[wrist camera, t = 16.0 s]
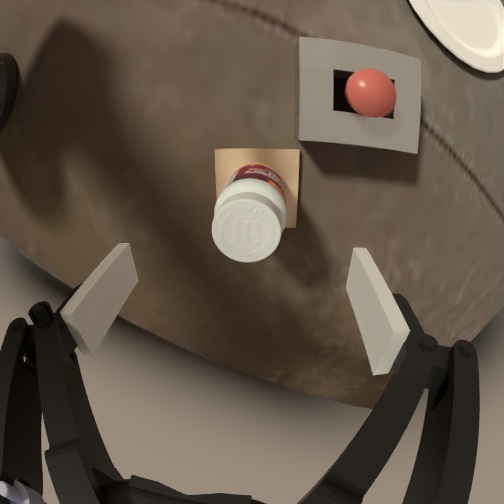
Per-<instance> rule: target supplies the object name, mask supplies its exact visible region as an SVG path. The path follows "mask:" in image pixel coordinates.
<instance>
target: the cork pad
mask: <svg viewBox="0 0 504 504" xmlns="http://www.w3.org/2000/svg"><path fill="white" fill-rule="evenodd" d="M299 152H300V150H298V149H265V148H236V149H215V170H216V190H217V199H218V197H219V195H220V194H221V192H222V191H223V189H224V187H225V186H226V184H227V183H228V181H229V179H230V178H231V176H232V175H233V174H234V173H235V172H236V171H237V170H238V169H239V168H241V167H242V166H244V165H247V164H251V163H261V164H265V165H267V166H269V167H271V168H273V169H274V170H275V171H276V172H277V173H278V174H279V175H280V177H281V179H282V181H283V184H284V188H285V197H286V207H287V221H286V225H285V228H296V218H297V200H298V179H299Z"/></svg>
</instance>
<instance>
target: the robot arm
mask: <svg viewBox="0 0 504 504" xmlns="http://www.w3.org/2000/svg"><path fill="white" fill-rule="evenodd" d="M16 85H17V69H16V64H15V61H14V58H13V57H12V56H11V55H10V54H8V53H0V130H1V129H2V128H3V126H4V125H5V123H6V121H7V119H8V117H9V115H10V112H11V109H12V106H13V102H14V98H15V93H16ZM137 282H138V277H137V273H136V269H135V265H134V261H133V257H132V253H131V249H130V244H129V243H119V244H118V245H117V246H116V247H115V248H114V249H113V250H112V251H111V252H110V253H109V254H108V255H107V257H106V258H105V259H104V260H103V261H102V262H101V263H100V264H99V266H98V267H97V268H96V269H95V270H94V271H93V272H92V274H91V275H90V276H89V277H88V278H87V279H86V281H85V282H84V283H81V284H80V285H79V286H77V287H76V288H74V290H73V291H72V292H71V293H70V295H69V296H68V297H67V298H66V300H65V301H64V302H63V303H62V304H61V306H60V307H59V308H58V309H57V311H56V312H55V313H53V311H52V309H51V307H50V304H49V303H48V302H46V301H42V302H38V303H37V304H35V305H34V306H32V307H31V309H30V310H29V313H28V315H29V316H30V318H31V320H32V322H33V324H34V325H28V324H27V322H26V320H25V319H24V318H17V319H15V320H13V321H12V322H11V323H10V325H9V327H8V329H7V332H6V335H5V338H4V341H3V344H2V347H1V350H0V504H47V503H46V502H44V500H43V499H42V495H43V472H42V455H41V420H42V413H43V419H44V424H45V428H46V433H47V437H48V442H49V447H50V448H49V449H48V450H46V451H45V459H46V464H47V467H48V471H49V474H50V477H51V480H52V483H53V486H54V489H55V492H56V495H57V497H58V500H59V502H60V504H265V503H263V502H260V501H257V500H253V499H252V496H250V495H235V494H224V493H216V494H201V495H186V494H183V493H181V492H178V491H176V490H174V489H172V488H170V487H168V486H165V485H163V484H161V483H159V482H157V481H153V480H149V479H145V478H141V477H138V476H135V475H131V479H123V477H122V476H121V475H120V473H119V472H118V471H117V469H116V468H115V467H114V465H113V464H112V462H111V459H110V457H109V455H108V452H107V450H106V448H105V445H104V443H103V440H102V438H101V435H100V433H99V430H98V427H97V424H96V422H95V419H94V416H93V413H92V410H91V407H90V404H89V400H88V397H87V394H86V391H85V387H84V383H83V380H82V376H81V372H80V368H79V363H78V359H77V355H76V353H75V351H74V350H75V348H76V347H77V346H78V348H79V350H80V352H81V353H82V354H85V355H89V356H94V354H95V352H96V350H97V349H98V347H99V345H100V343H101V341H102V340H103V338H104V336H105V334H106V333H107V331H108V329H109V327H110V326H111V324H112V323H113V321H114V319H115V318H116V316H117V314H118V313H119V311H120V309H121V308H122V306H123V304H124V303H125V301H126V300H127V298H128V297H129V295H130V293H131V292H132V290H133V289H134V287H135V286H136V284H137ZM346 290H347V293H348V296H349V298H350V301H351V304H352V307H353V310H354V313H355V316H356V319H357V323H358V326H359V329H360V332H361V335H362V338H363V342H364V345H365V348H366V352H367V355H368V359H369V362H370V366H371V369H372V373H373V375H379V374H388V373H389V371H390V369H391V367H392V366H393V367H394V370H395V373H394V375H393V377H392V378H391V380H390V382H389V383H388V385H387V387H386V389H385V391H384V392H383V394H382V396H381V397H380V399H379V401H378V402H377V404H376V406H375V407H374V409H373V410H372V412H371V413H370V415H369V416H368V418H367V419H366V421H365V422H364V424H363V425H362V427H361V428H360V430H359V431H358V432H357V434H356V436H355V437H354V438H353V440H352V441H351V442H350V444H349V445H348V446H347V448H346V449H345V450H344V452H343V453H342V454H341V455H340V456H339V458H338V459H337V460H336V461H335V463H334V464H333V465H332V466H331V467H330V469H329V470H328V471H327V472H326V473H325V474H324V476H323V477H322V478H321V479H320V480H319V481H318V482H317V484H316V485H315V486H314V487H313V488H312V489H311V490H310V491H309V492H308V493H307V494H306V495H305V496H304V497H303V498H302V499H301V500H300V501H299V502H298V503H297V504H361V503H362V500H363V497H364V495H365V494H366V492H367V491H368V489H369V488H370V487H371V485H372V483H373V482H374V481H375V479H376V478H377V477H378V475H379V473H380V472H381V470H382V469H383V467H384V466H385V464H386V463H387V461H388V459H389V458H390V456H391V454H392V453H393V451H394V449H395V448H396V446H397V444H398V442H399V441H400V439H401V437H402V435H403V433H404V431H405V429H406V428H407V426H408V424H409V421H410V420H411V418H412V415H413V414H414V411H415V409H416V407H417V405H418V403H419V401H420V398H421V396H422V394H423V391H424V389H425V388H428V389H429V392H428V400H427V407H426V413H425V419H424V425H423V430H422V435H421V440H420V445H419V449H418V453H417V457H416V461H415V465H414V468H413V472H412V475H411V479H410V482H409V485H408V488H407V491H406V494H405V497H404V500H403V503H402V504H467V503H468V499H469V495H470V491H471V486H472V481H473V475H474V469H475V461H476V455H477V444H478V433H479V411H480V403H479V402H480V401H479V400H480V398H479V397H480V395H479V371H478V359H477V352H476V349H475V347H474V346H473V344H471V343H470V342H469V341H466V340H458V341H456V343H455V344H454V345H453V347H447V346H441V345H439V344H438V342H437V341H436V339H435V338H434V337H432V336H430V335H428V334H425V333H424V331H423V329H422V327H421V326H420V324H419V322H418V320H417V318H416V316H415V314H414V312H413V310H412V309H411V307H410V305H409V303H408V301H407V300H406V299H405V298H404V297H403V296H402V295H401V294H391V292H390V290H389V288H388V286H387V284H386V282H385V281H384V279H383V277H382V275H381V273H380V271H379V270H378V268H377V266H376V264H375V263H374V261H373V259H372V257H371V256H370V254H369V252H368V251H367V249H366V248H353V254H352V259H351V264H350V269H349V274H348V279H347V284H346ZM24 357H25V358H26V359H25V362H24Z"/></svg>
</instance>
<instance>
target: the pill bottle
mask: <svg viewBox="0 0 504 504" xmlns="http://www.w3.org/2000/svg"><path fill="white" fill-rule="evenodd" d="M286 221H287V207H286V197H285V188H284V184H283V181H282V179H281V177H280V175H279V174H278V173H277V172H276V171H275V170H274V169H273V168H271V167H269V166H267V165H265V164H261V163H251V164H247V165H244V166H242V167H241V168H239V169H238V170H237V171H236V172H235V173H234V174H233V175H232V176H231V178H230V179H229V181H228V183H227V184H226V186H225V187H224V189H223V191H222V192H221V194H220V195H219V197H218V199H217V202H216V205H215V210H214V219H213V223H212V236H213V239H214V242H215V244H216V245H217V247H218V248H219V250H220V251H221V252H222V253H223V254H225V255H226V256H228V257H229V258H231V259H233V260H236V261H240V262H256V261H259V260H262V259H264V258H266V257H268V256H269V255H270V254H271V253H272V252H274V250H275V249H276V248H277V246H278V244H279V242H280V239H281V233H282V232H283V230H284V228H285V225H286Z"/></svg>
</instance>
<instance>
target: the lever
mask: <svg viewBox="0 0 504 504" xmlns="http://www.w3.org/2000/svg"><path fill="white" fill-rule="evenodd" d="M342 97H343V100H344V101H345V103H346V104H348V105H349V106H351V107H352V108H353V109H354V110H355V111H356V112H357V113H359V114H361V115H363V116H366V117H375V118H378V117H383V116H385V115H387V114H389V113H390V112H391V111H392V110H393V108H394V106H395V104H396V98H397V95H396V90H395V87H394V84H393V83H392V81H391V80H390V79H389V77H388V76H387V75H385V74H384V73H383V72H381V71H379V70H376V69H371V68H367V69H362V70H359V71H357V72H355V73H353V74H352V75H351V76H350V77H349V78H348V80H347V82H346V85H345V88H344V90H343V92H342Z"/></svg>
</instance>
